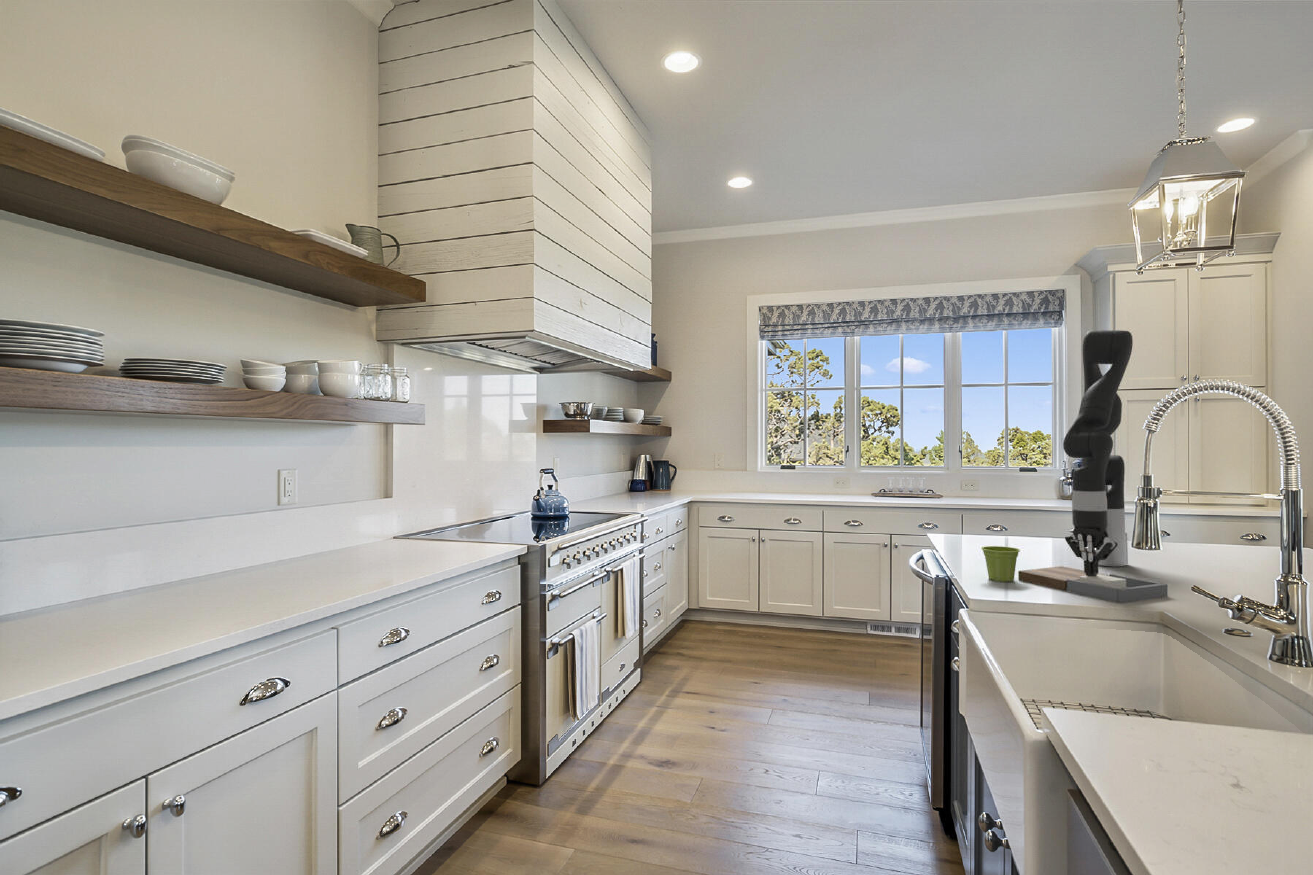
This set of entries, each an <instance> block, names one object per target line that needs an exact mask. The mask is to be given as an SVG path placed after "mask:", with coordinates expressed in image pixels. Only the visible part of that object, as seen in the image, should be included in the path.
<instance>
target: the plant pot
mask: <svg viewBox="0 0 1313 875" xmlns="http://www.w3.org/2000/svg"><path fill="white" fill-rule="evenodd" d="M981 550H982V551H983V553H982V554H983V555H984V557H985V558H984V559H985V564H986V568H987V576H988V579H989V580H993V581H994V582H1000V583H1001V582H1002V583H1006V582H1007V583H1008V581H1009V582H1014V581H1015V574H1016V566H1017V558H1018V557H1019V552H1020V551H1021V549H1019V548H1017V547H1011V546H1001V545H999V546H998V545H990V546H989V545H987V546H982V547H981Z"/></svg>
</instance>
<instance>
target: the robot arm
mask: <svg viewBox="0 0 1313 875" xmlns="http://www.w3.org/2000/svg"><path fill="white" fill-rule="evenodd" d="M1133 343H1134V342H1133V335H1132V333H1131V332H1130V331H1129V330H1122V329H1120V330H1119V329H1118V330H1117V329H1116V330H1114V329H1113V330H1111V329H1110V330H1109V329H1108V330H1107V329H1103V330H1101V329H1099V330H1098V329H1097V330H1096V329H1095V330H1089V331H1088V332H1086V334H1085V335H1084V337H1083V342H1082V363H1083V364H1082V366H1083V380H1084V382H1083V383H1084V385H1083V386H1084V387H1083V388H1084V389H1083V390H1084V391H1083V397H1082V398H1081V401H1080V406H1079V410H1078V414H1077V416H1076V419H1075V420H1074V422H1073V424H1072V425H1071V426H1070V427H1069V430H1068V431H1067V432H1066V434H1065V436H1064V439H1063V443H1062V444H1063V445H1062V447H1063V451H1064V453H1065V454H1066V456H1068V457H1070V458H1074V459H1081V463H1080V464H1081V467H1076V468H1075V469H1073V471H1072V495H1071V510H1072V513H1071V514H1072V517H1071V518H1072V526H1074V527H1073V530H1072V534H1070V535H1069V536H1065V537H1064V539H1065V542H1066V543H1067V545H1068V546H1069V548H1070V549H1071V550H1072V552H1073V554H1074V555H1075V557H1077V558H1080V559H1082V561H1083V570H1084V572H1085V573H1086V575H1087V576H1097V574H1098V573H1099V566H1104V567H1126V566H1127V565H1129V555H1128V554H1129V553H1128V549H1129V548H1128V533H1127V532H1126V517H1125V516H1126V515H1125V472H1126V471H1125V461H1124V458H1123V457H1122V456H1121V455H1119V454H1117V455H1116V454H1112V451H1113V448H1114V447H1113V446H1114V440H1113V438H1112V436H1113V434H1114V433H1115V432H1116V431H1117V429H1118V428H1119V426H1120V424H1121V422H1122V410H1123V409H1122V408H1123V402H1122V400H1121V397H1120V395H1119V394H1118V389H1119V388H1120V384H1121V383H1122V381H1123V378H1124V375H1125V372H1126V370H1127V367H1128V364H1129V362H1130V359H1131V355H1132V352H1133ZM1100 365H1111V366H1110V368H1109V369H1108V370H1107V372H1106V373H1104V374H1103V373H1102V371H1101V369H1100ZM1106 486H1110V489H1108V490H1107V491H1106Z"/></svg>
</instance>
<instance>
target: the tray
mask: <svg viewBox="0 0 1313 875" xmlns="http://www.w3.org/2000/svg"><path fill="white" fill-rule="evenodd" d="M1109 575H1110V576H1111V577H1116V578H1122V579H1126V588H1121V589H1116V588H1112V587H1107V586H1102V585H1097V584H1092V583H1087V582H1083V581H1078V580H1073V579H1067V588H1066V592H1069V593H1073V594H1079V595H1083V596H1087V597H1089V598H1090V597H1091V598H1096V599H1100V600H1104V601H1109V602H1113V603H1117V604H1125V603H1131V602H1132V603H1133V602H1140V601H1145V600H1146V601H1147V600H1154V599H1162V598H1168V597H1169V596H1168V595H1169V594H1168V584H1167V583H1162V582H1158V581H1153V580H1146V579H1141V578H1136V577H1131V576H1126V575H1120V574H1115V573H1111V574H1109Z"/></svg>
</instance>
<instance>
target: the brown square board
mask: <svg viewBox="0 0 1313 875" xmlns="http://www.w3.org/2000/svg"><path fill="white" fill-rule="evenodd" d="M1017 574H1018V575H1017V576H1018V577H1017V578H1018V581H1020V582H1021V581H1022V582H1027V583H1030V584H1034V585H1039V586H1044V587H1048V588H1051V589H1055V590H1061V591H1066V588H1067V579H1073V580H1078V581H1079V576H1087V575H1086V573H1085V572H1084V569H1077V568H1072V567H1067V566H1061V565H1060V566H1052V567H1042V568H1034V569H1033V568H1032V569H1025V570H1018V573H1017ZM1098 574H1101V575H1106V576H1110V574H1104V573H1099V572H1098ZM1066 592H1067V591H1066Z"/></svg>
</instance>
